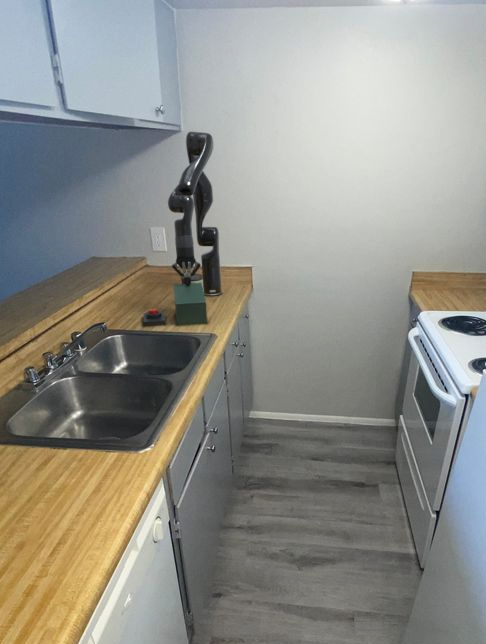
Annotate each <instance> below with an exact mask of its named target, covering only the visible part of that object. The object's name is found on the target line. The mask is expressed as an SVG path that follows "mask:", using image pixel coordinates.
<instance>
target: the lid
mask: <svg viewBox="0 0 486 644" xmlns="http://www.w3.org/2000/svg"><path fill="white" fill-rule="evenodd" d="M172 287H173V293H174V295H173V296H175V298H174V303H175V302H176V306H178V305H194V304H206V305H207V301H206V297H205V296H206V295H204V292H203V287H202V283H191V284H190V286H186V284H182V283H174V284H172Z"/></svg>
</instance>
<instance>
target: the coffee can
mask: <svg viewBox="0 0 486 644" xmlns="http://www.w3.org/2000/svg"><path fill="white" fill-rule="evenodd" d="M186 275H187V273H186ZM187 276H188V275H187ZM180 280H181V284H185V283H184V277H183V276H180ZM191 283H202V287H203V275H202V274H200V273H195V275H194V276H191ZM203 292H204V288H203Z"/></svg>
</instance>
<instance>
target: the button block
mask: <svg viewBox="0 0 486 644" xmlns="http://www.w3.org/2000/svg"><path fill="white" fill-rule="evenodd" d="M165 315H166V314H165V311H161V310H158V313H157V314H149V310H148V311H146V312H143V317H142V318H143V323H142V324H143V327H144V328H145V327H146V328H147V327H156V326H158V327H159V326H166V316H165Z"/></svg>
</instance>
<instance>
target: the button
mask: <svg viewBox="0 0 486 644" xmlns="http://www.w3.org/2000/svg"><path fill="white" fill-rule="evenodd" d="M148 311H149V314H157V313H158V311H159V310H158V309H157V308H150V309H148Z"/></svg>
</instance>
